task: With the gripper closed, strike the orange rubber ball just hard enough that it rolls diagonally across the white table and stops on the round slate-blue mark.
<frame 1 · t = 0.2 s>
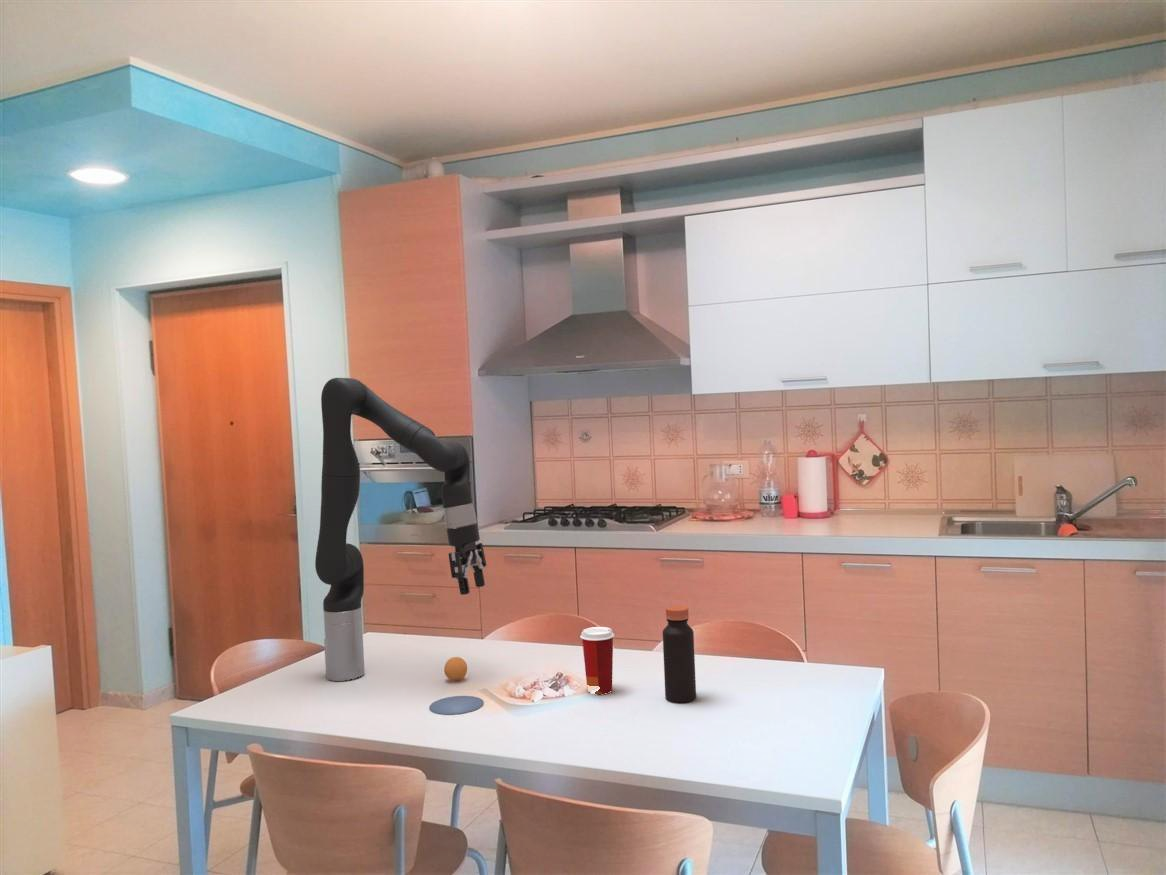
hand: (473, 590, 208), 22 cm above the table, tool pointing down, fingers open, 8 cm apart
bottle: (680, 699, 189), on the table
paper cup: (599, 691, 197), on the table
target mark: (456, 705, 191), on the table
ball: (455, 668, 210), on the table
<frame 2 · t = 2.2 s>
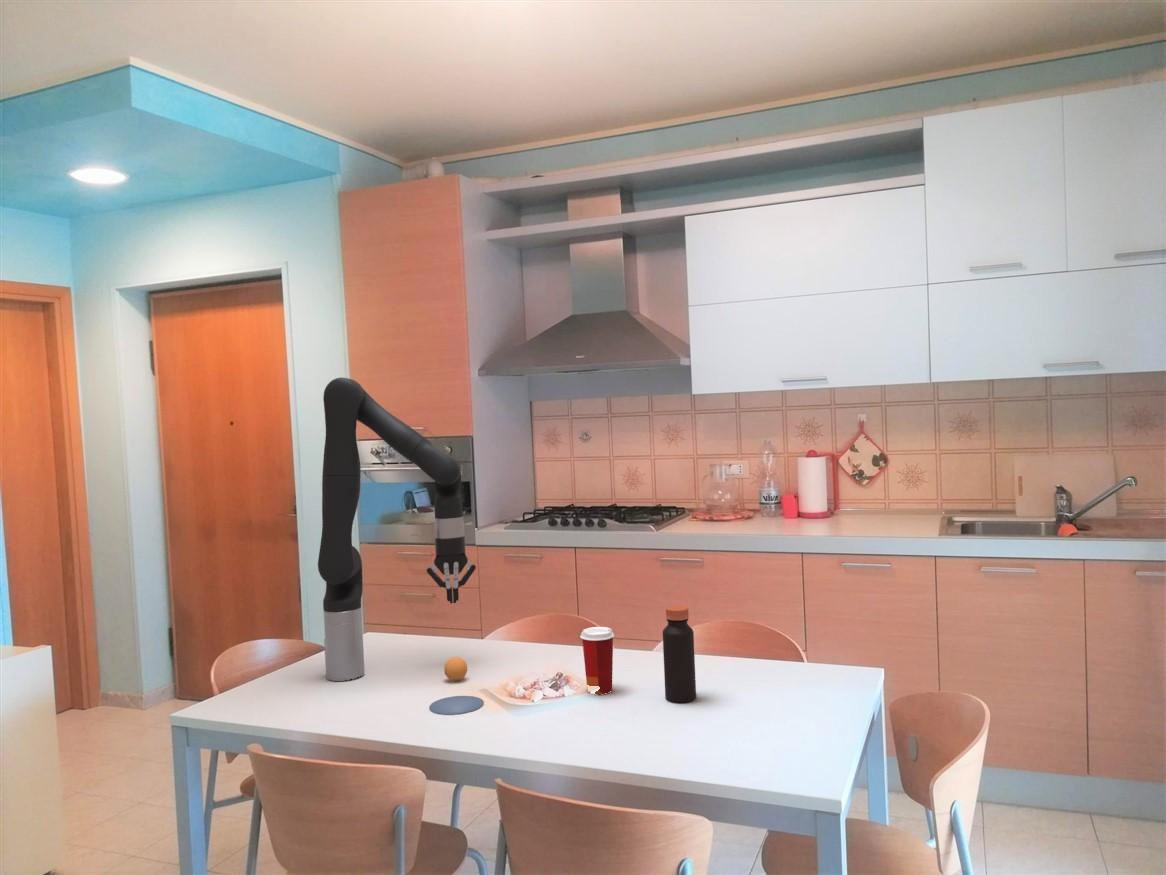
hand: (452, 602, 219), 17 cm above the table, tool pointing down, fingers closed
nothing on the table moved.
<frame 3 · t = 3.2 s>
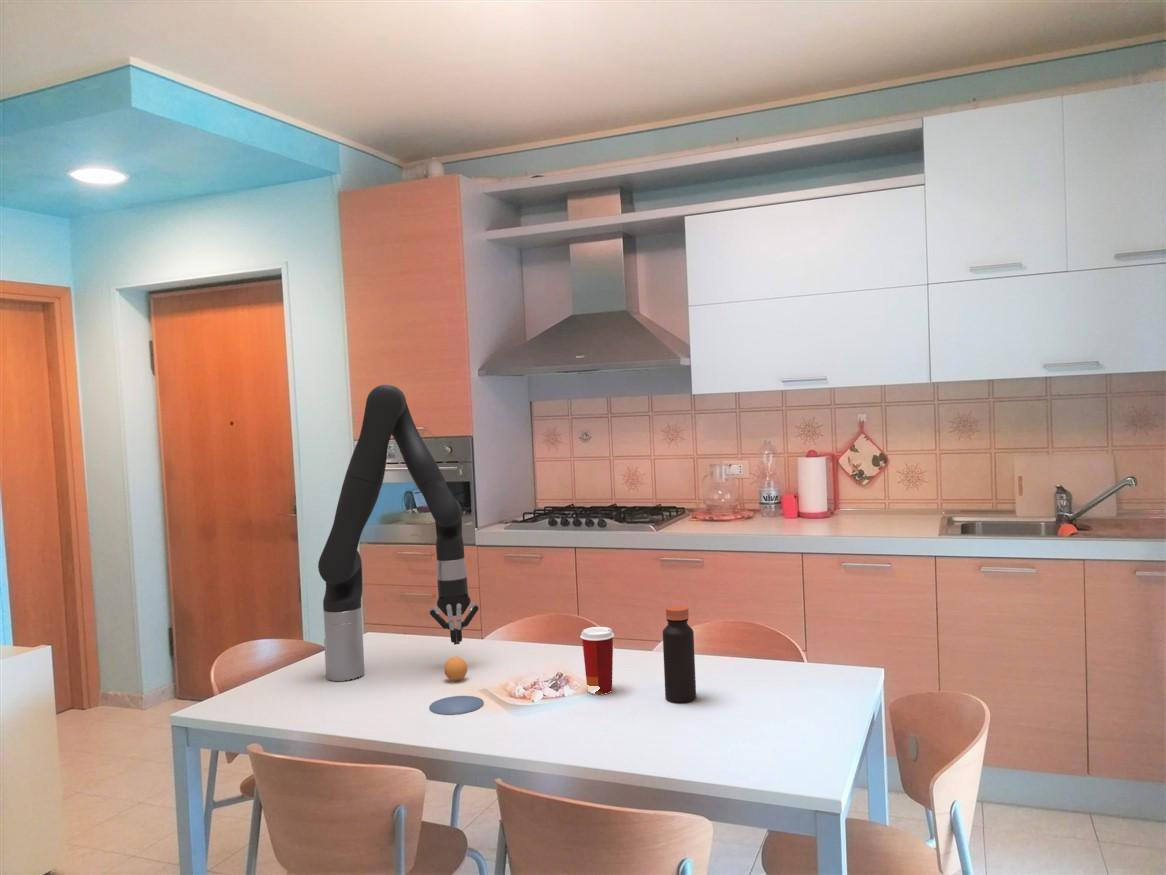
hand: (456, 643, 220), 6 cm above the table, tool pointing down, fingers closed
nothing on the table moved.
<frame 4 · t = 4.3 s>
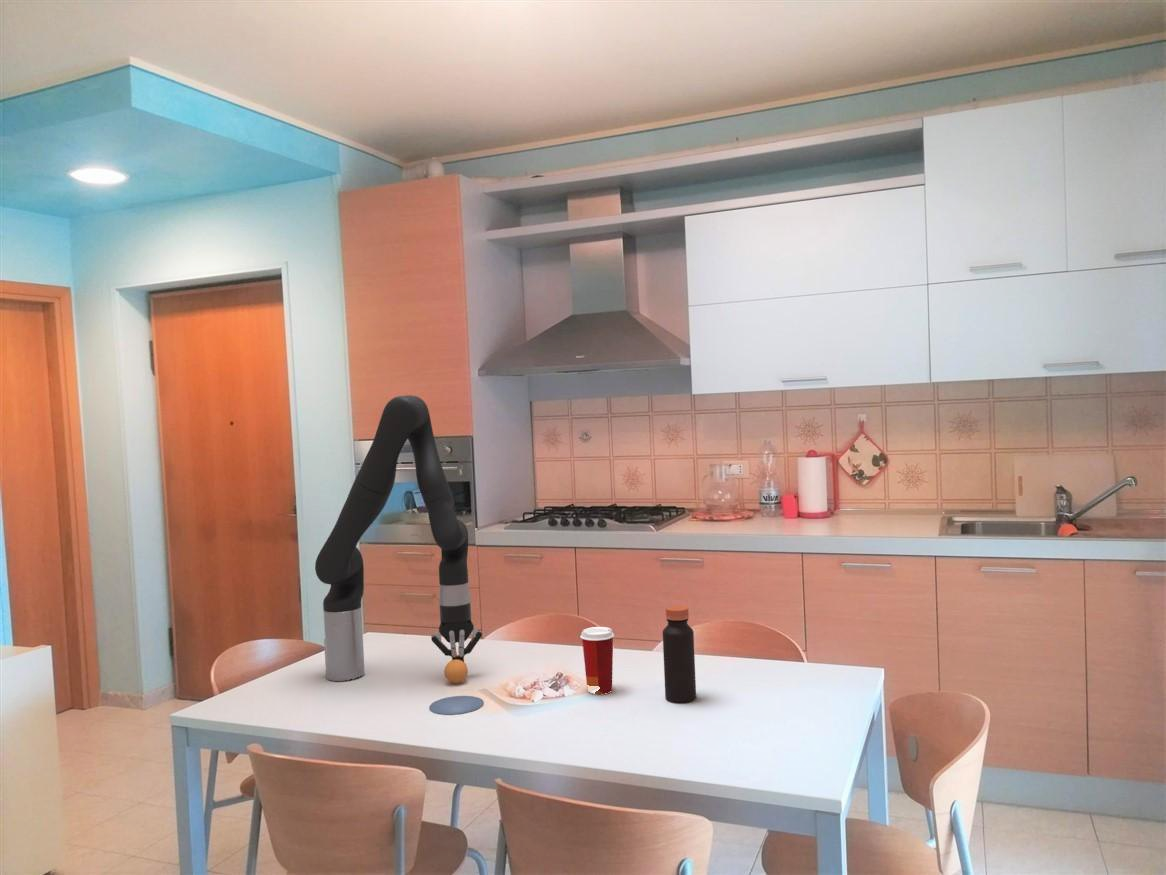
hand: (458, 671, 212), 2 cm above the table, tool pointing down, fingers closed
ball: (456, 671, 208), on the table
everything else where it was.
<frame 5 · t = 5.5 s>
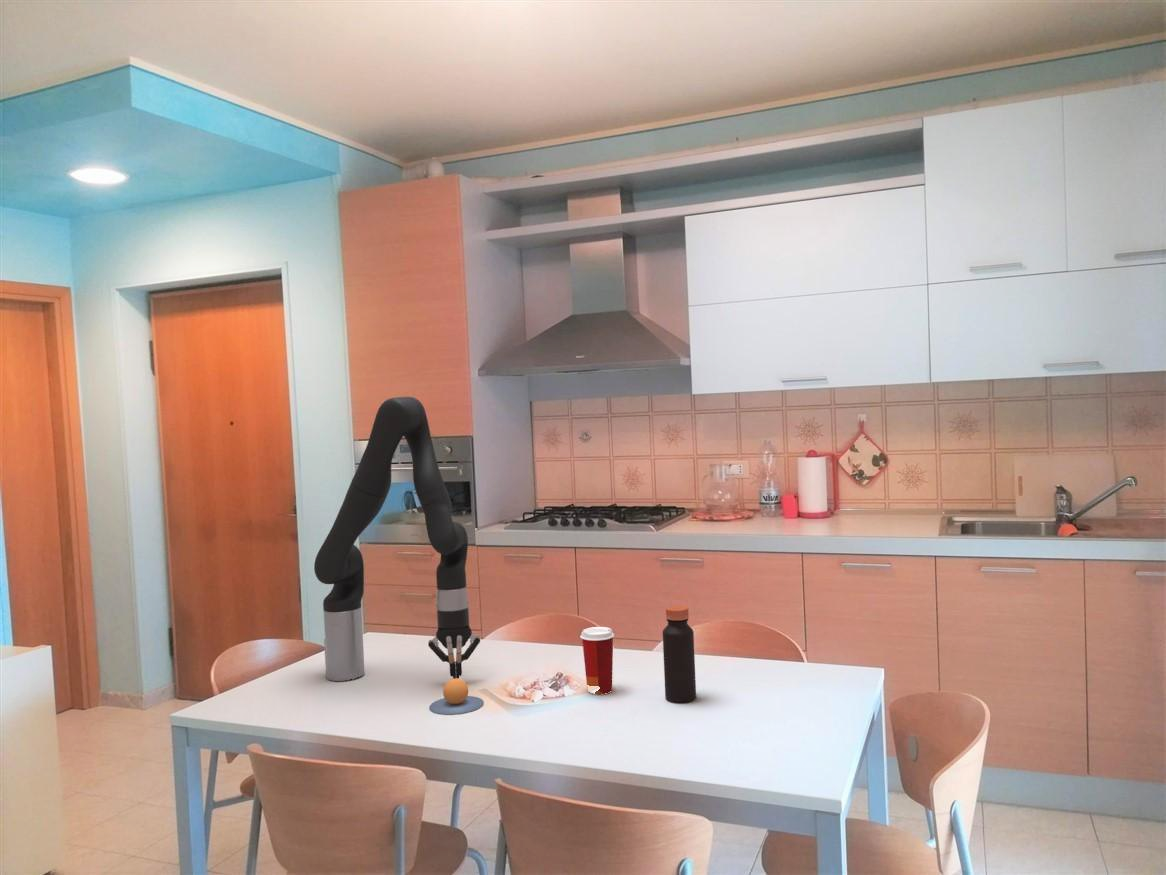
hand: (456, 677, 207), 2 cm above the table, tool pointing down, fingers closed
ball: (455, 691, 192), on the table
everything else where it was.
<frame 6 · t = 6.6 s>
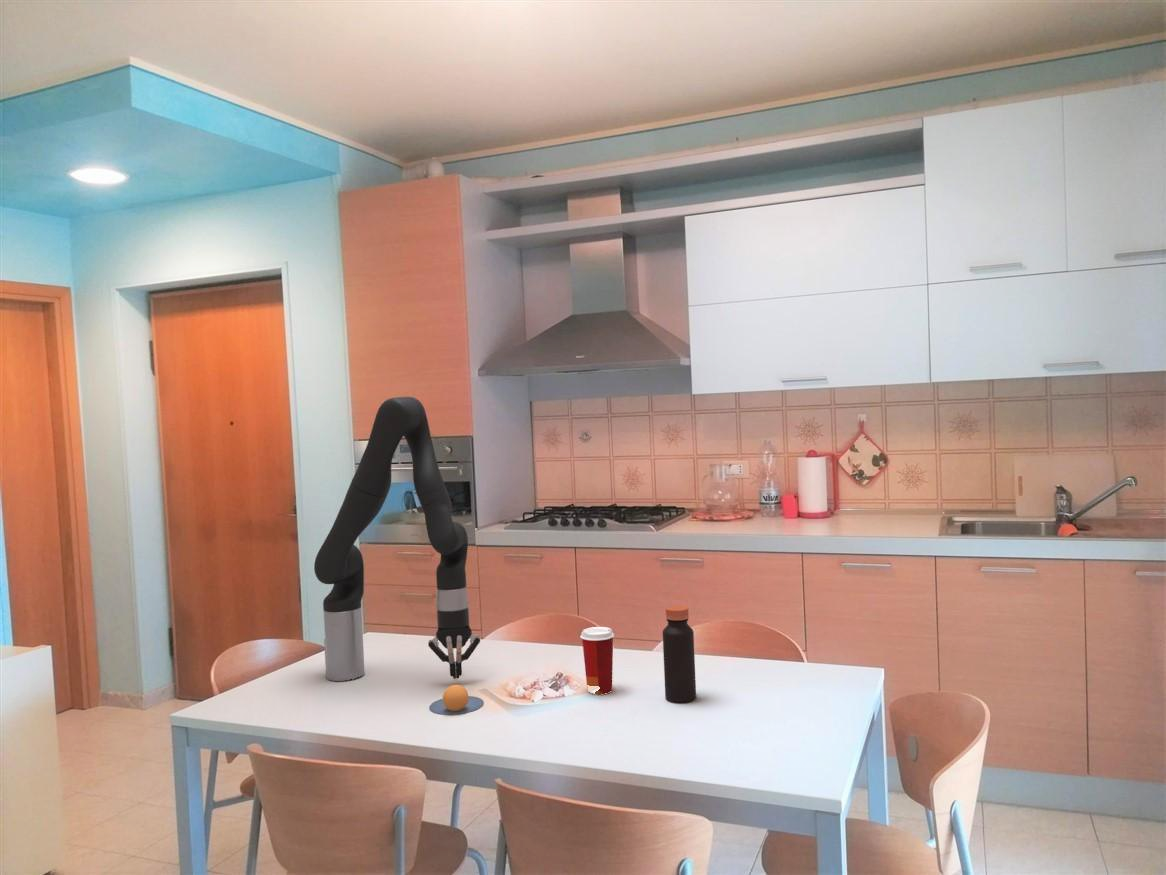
hand: (456, 677, 207), 2 cm above the table, tool pointing down, fingers closed
ball: (455, 698, 188), on the table
everything else where it was.
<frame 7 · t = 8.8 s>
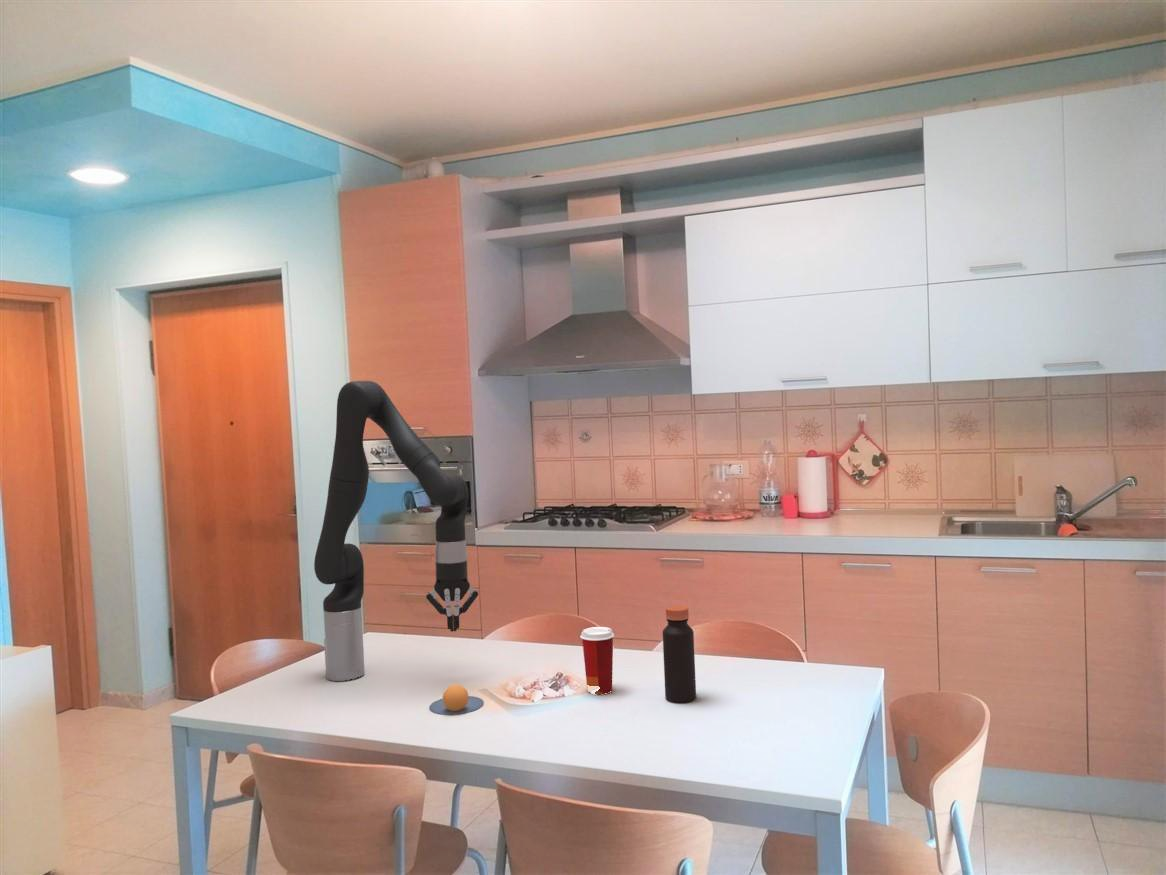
hand: (453, 630, 207), 13 cm above the table, tool pointing down, fingers closed
nothing on the table moved.
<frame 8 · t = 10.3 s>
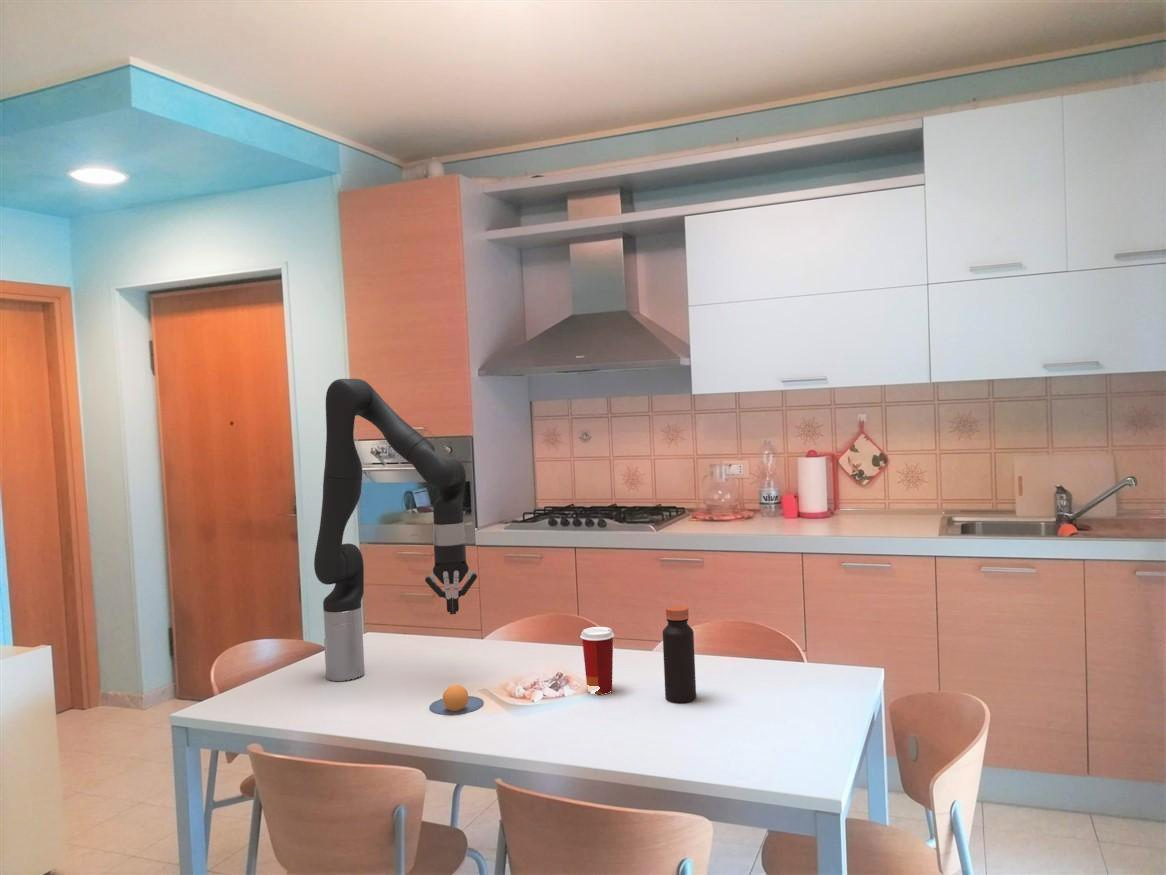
hand: (452, 613, 207), 17 cm above the table, tool pointing down, fingers closed
nothing on the table moved.
at the end: ball 3.6 cm from the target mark (horizontally); ball at rest at the end (0.0 cm/s); ball moved 22.6 cm from its start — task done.
